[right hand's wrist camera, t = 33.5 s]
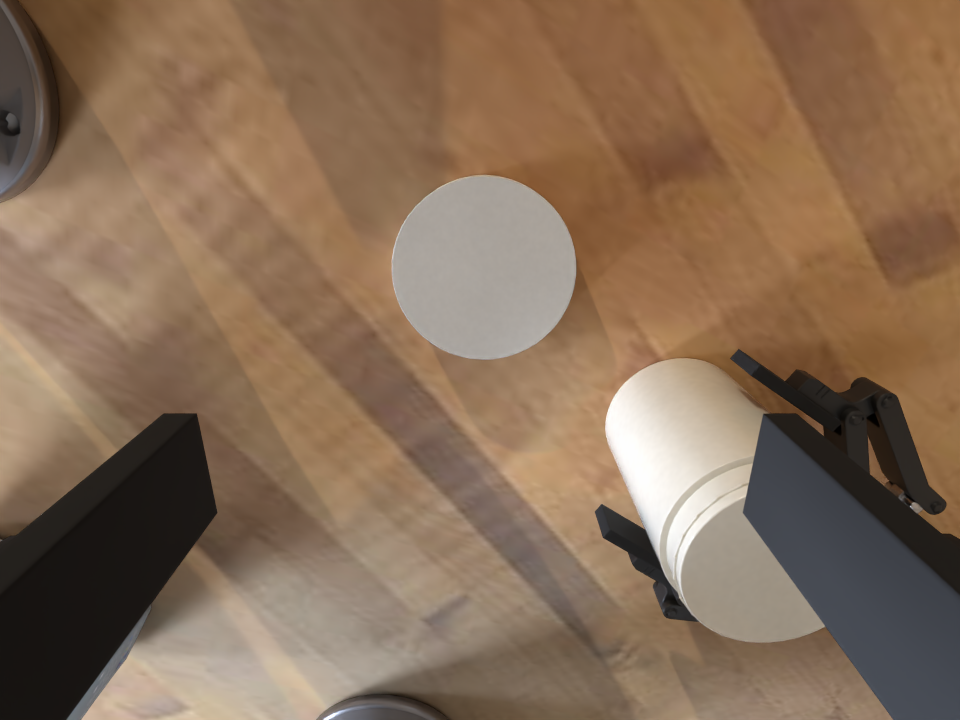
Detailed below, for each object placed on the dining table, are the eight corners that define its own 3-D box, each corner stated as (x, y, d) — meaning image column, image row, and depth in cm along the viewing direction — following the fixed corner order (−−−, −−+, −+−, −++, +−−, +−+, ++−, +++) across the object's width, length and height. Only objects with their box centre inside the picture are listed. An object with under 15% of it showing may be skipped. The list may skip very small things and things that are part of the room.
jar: (718, 489, 43) (838, 660, 28) (591, 470, 42) (647, 634, 28) (764, 369, 39) (928, 495, 25) (625, 347, 39) (710, 462, 24)
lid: (433, 144, 34) (430, 143, 32) (600, 218, 35) (608, 222, 33) (374, 311, 38) (367, 321, 36) (527, 371, 39) (530, 384, 37)
